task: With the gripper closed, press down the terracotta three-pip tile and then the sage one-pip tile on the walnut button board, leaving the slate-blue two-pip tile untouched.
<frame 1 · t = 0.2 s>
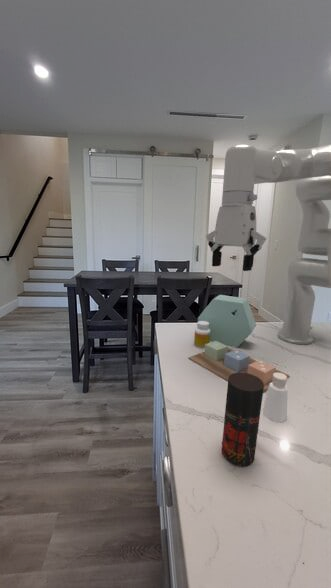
hand: (230, 268, 71), 31 cm above the counter, fingers open, 9 cm apart
tile two: (236, 360, 78), point 4 cm above the counter, slide at 0.0 cm
deodorant: (237, 454, 50), on the counter
board: (235, 372, 79), on the counter
pepper shaker: (273, 420, 59), on the counter
tile one: (215, 350, 84), point 4 cm above the counter, slide at 0.0 cm
mint hexagonal clock: (224, 344, 98), on the counter
supplement bottle: (201, 349, 93), on the counter
tile three: (261, 372, 72), point 4 cm above the counter, slide at 0.0 cm
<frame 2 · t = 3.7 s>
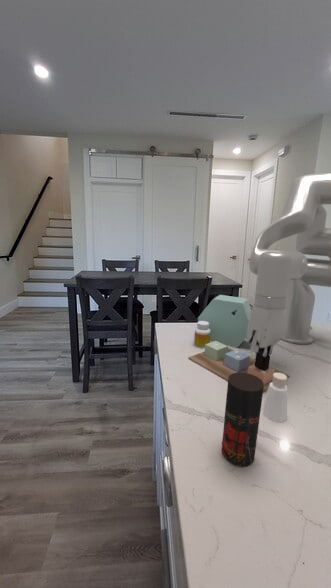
hand: (261, 367, 71), 5 cm above the counter, fingers closed
tile three: (260, 374, 72), point 3 cm above the counter, slide at 0.7 cm, touching gripper
everything else where it was.
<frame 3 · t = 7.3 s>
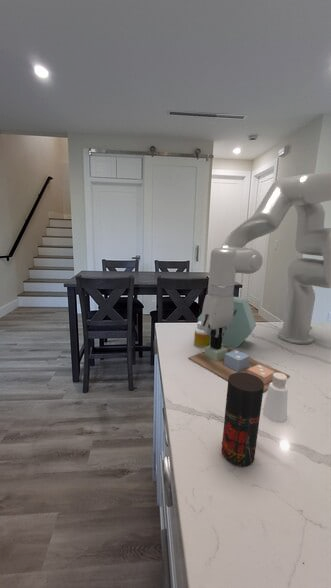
hand: (215, 347, 83), 5 cm above the counter, fingers closed
tile one: (215, 353, 84), point 3 cm above the counter, slide at 0.9 cm, touching gripper
tile three: (260, 376, 72), point 2 cm above the counter, slide at 1.3 cm
everything else where it was.
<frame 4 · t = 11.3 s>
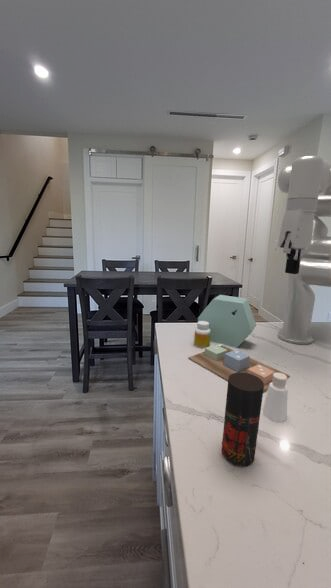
hand: (291, 273, 77), 29 cm above the counter, fingers closed
tile one: (215, 354, 84), point 2 cm above the counter, slide at 1.3 cm
everything else where it was.
at the end: tile three slide at 1.3 cm; tile one slide at 1.3 cm; tile two slide at 0.0 cm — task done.
